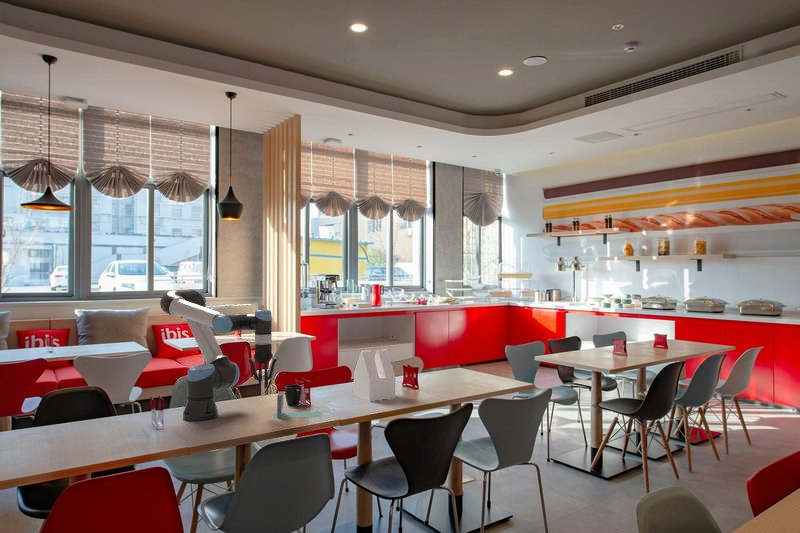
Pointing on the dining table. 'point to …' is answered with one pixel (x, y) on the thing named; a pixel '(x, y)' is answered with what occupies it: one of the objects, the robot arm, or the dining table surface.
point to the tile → (280, 404)
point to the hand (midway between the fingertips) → (263, 394)
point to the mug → (293, 394)
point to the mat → (300, 415)
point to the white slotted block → (374, 376)
